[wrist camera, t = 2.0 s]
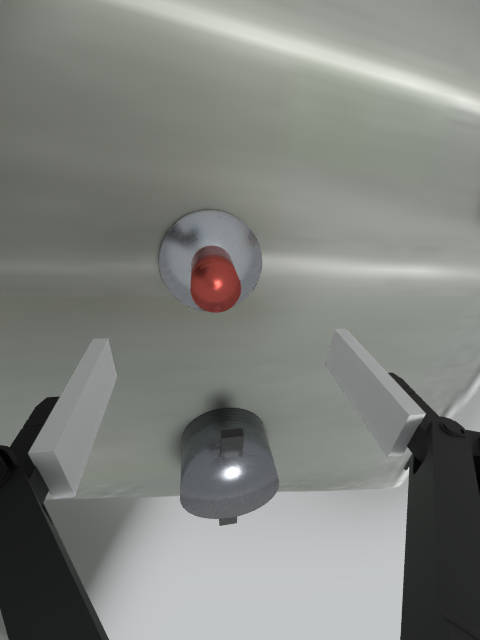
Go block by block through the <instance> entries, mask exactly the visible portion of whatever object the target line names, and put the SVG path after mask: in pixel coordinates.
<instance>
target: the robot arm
mask: <svg viewBox="0 0 480 640" xmlns="http://www.w3.org/2000/svg"><path fill="white" fill-rule="evenodd" d="M325 365H326V366H327V368H328V369H329V371H330V372H331V374H332V375H333V377H334V378H335V380H336V381H337V383H338V384H339V386H340V387H341V389H342V390H343V392H344V393H345V395H346V396H347V397H348V399H349V400H350V402H351V403H352V405H353V406H354V408H355V409H356V411H357V412H358V414H359V415H360V417H361V418H362V420H363V421H364V423H365V424H366V426H367V427H368V429H369V430H370V432H371V433H372V435H373V436H374V438H375V439H376V441H377V442H378V444H379V445H380V447H381V448H382V450H383V451H384V453H385V454H386V456H387V457H393V456H401V455H403V453H404V451H405V450H406V448H407V447H408V448H409V449H410V451H411V452H412V455H411V457H410V458H409V460H408V462H407V463H406V465H405V467H404V469H405V470H407V469H408V467H409V466H410V467H409V487H408V488H409V489H408V507H407V508H408V509H407V525H406V544H405V564H404V583H403V602H402V621H401V622H402V623H401V637H400V640H480V432H475V431H470V430H465V429H464V428H463V427H462V426H461V425H460V424H458V423H457V422H455V421H453V420H451V419H449V418H446V417H439V416H438V415H437V414H436V413H435V412H434V411H433V410H432V409H431V408H430V407H429V406H428V405H427V404H426V403H425V402H424V401H423V400H422V399H421V398H420V397H419V396H418V395H417V394H416V393H415V391H414V390H413V389H412V388H410V386H409V385H408V384H407V383H406V382H405V381H404V380H403V379H402V378H400V377H398V376H397V375H395V374H394V373H387V372H386V371H385V370H384V369H383V367H382V366H381V365H380V364H379V363H378V362H377V361H376V360H375V359H374V358H373V357H372V356H371V355H370V354H369V353H368V351H367V350H366V349H365V348H364V347H363V346H362V345H361V344H360V343H359V342H358V341H357V340H356V339H355V338H354V337H353V336H352V334H351V333H350V332H349V331H348V330H347V329H335V330H334V334H333V337H332V341H331V345H330V349H329V352H328V356H327V360H326V364H325ZM116 379H117V374H116V370H115V366H114V361H113V357H112V353H111V348H110V344H109V340H108V338H103V339H93V340H92V341H91V343H90V345H89V347H88V348H87V350H86V352H85V354H84V356H83V357H82V359H81V361H80V363H79V364H78V366H77V368H76V370H75V371H74V373H73V375H72V377H71V378H70V380H69V382H68V384H67V385H66V387H65V389H64V391H63V392H62V394H61V396H60V397H47V398H46V399H45V400H43V401H42V402H41V403H40V404H39V405H38V406H36V407H35V409H34V410H33V412H32V414H31V415H30V417H29V420H27V421H26V423H25V424H24V426H23V429H21V431H20V432H19V434H18V435H17V437H16V438H15V440H14V441H13V443H12V445H11V446H10V448H9V447H8V446H2V445H0V609H1V613H2V617H3V620H4V624H5V627H6V631H7V635H8V638H9V640H109V639H108V637H107V635H106V632H105V630H104V628H103V626H102V624H101V622H100V620H99V618H98V616H97V613H96V611H95V609H94V607H93V605H92V603H91V601H90V599H89V597H88V595H87V593H86V591H85V589H84V586H83V584H82V582H81V580H80V578H79V576H78V574H77V572H76V570H75V568H74V566H73V563H72V561H71V559H70V557H69V555H68V553H67V551H66V549H65V547H64V545H63V542H62V540H61V538H60V536H59V535H58V532H57V530H56V528H55V526H54V524H53V522H52V520H51V517H50V516H49V513H48V511H47V509H46V507H45V505H44V504H43V502H44V500H45V498H46V495H47V493H48V491H49V493H50V495H51V497H52V498H53V499H59V498H67V497H75V496H76V493H77V490H78V487H79V484H80V481H81V479H82V476H83V473H84V470H85V467H86V464H87V462H88V459H89V456H90V453H91V450H92V447H93V444H94V442H95V439H96V436H97V433H98V430H99V427H100V425H101V422H102V419H103V416H104V413H105V410H106V408H107V405H108V402H109V399H110V396H111V393H112V391H113V388H114V385H115V382H116Z"/></svg>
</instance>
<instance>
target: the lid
mask: <svg viewBox="0 0 480 640" xmlns="http://www.w3.org/2000/svg"><path fill="white" fill-rule="evenodd" d="M159 268H160V273H161V276H162V279H163V281H164V283H165V285H166V287H167V288H168V290H169V291H170V292H171V294H172V295H173V296H174V297H175V298H176V299H178V300H179V301H180V302H182V303H183V304H185V305H187V306H189V307H191V308H194V309H197V310H202V311H208V312H223V311H226V310H228V309H230V308H231V307H233V306H235V305H237V304H238V303H240V302H241V301H243V300H244V299H245V298H246V297H247V296H248V295H249V294H250V293H251V292H252V291H253V289H254V288H255V286H256V284H257V282H258V280H259V277H260V274H261V269H262V254H261V249H260V246H259V243H258V241H257V239H256V237H255V235H254V234H253V233H252V231H251V230H250V229H249V228H248V226H247V225H246V224H245V223H244V222H242V221H241V220H240V219H239V218H237V217H235V216H234V215H232V214H229V213H227V212H224V211H220V210H213V209H207V210H199V211H195V212H192V213H190V214H188V215H186V216H184V217H182V218H181V219H179V220H178V221H177V222H176V223H175V224H174V225H173V226H172V227H171V228H170V229H169V231H168V233H167V234H166V236H165V238H164V241H163V243H162V245H161V249H160V254H159Z"/></svg>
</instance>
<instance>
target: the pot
mask: <svg viewBox="0 0 480 640" xmlns="http://www.w3.org/2000/svg"><path fill="white" fill-rule="evenodd" d="M278 487H279V479H278V475H277V472H276V468H275V464H274V461H273V457H272V453H271V450H270V446H269V443H268V439H267V435H266V432H265V428H264V425H263V422H262V421H261V419H260V418H259V417H258V416H256V415H255V414H253V413H252V412H249V411H247V410H243V409H238V408H223V409H217V410H213V411H210V412H207V413H205V414H203V415H201V416H199V417H197V418H196V419H194V420H193V421H192V422H191V423H190V424H189V425H188V426H187V427H186V429H185V431H184V433H183V436H182V457H181V485H180V501H181V504H182V506H183V508H184V509H185V510H186V511H188V512H189V513H191V514H193V515H195V516H199V517H203V518H210V519H219V523H220V526H222V525H228V524H234V523H237V516H240V515H243V514H246V513H249V512H252V511H254V510H256V509H258V508H260V507H261V506H263V505H264V504H266V503H267V502H268V501H269V500H270V499H272V497H273V496H274V495H275V494H276V492H277V490H278Z"/></svg>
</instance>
